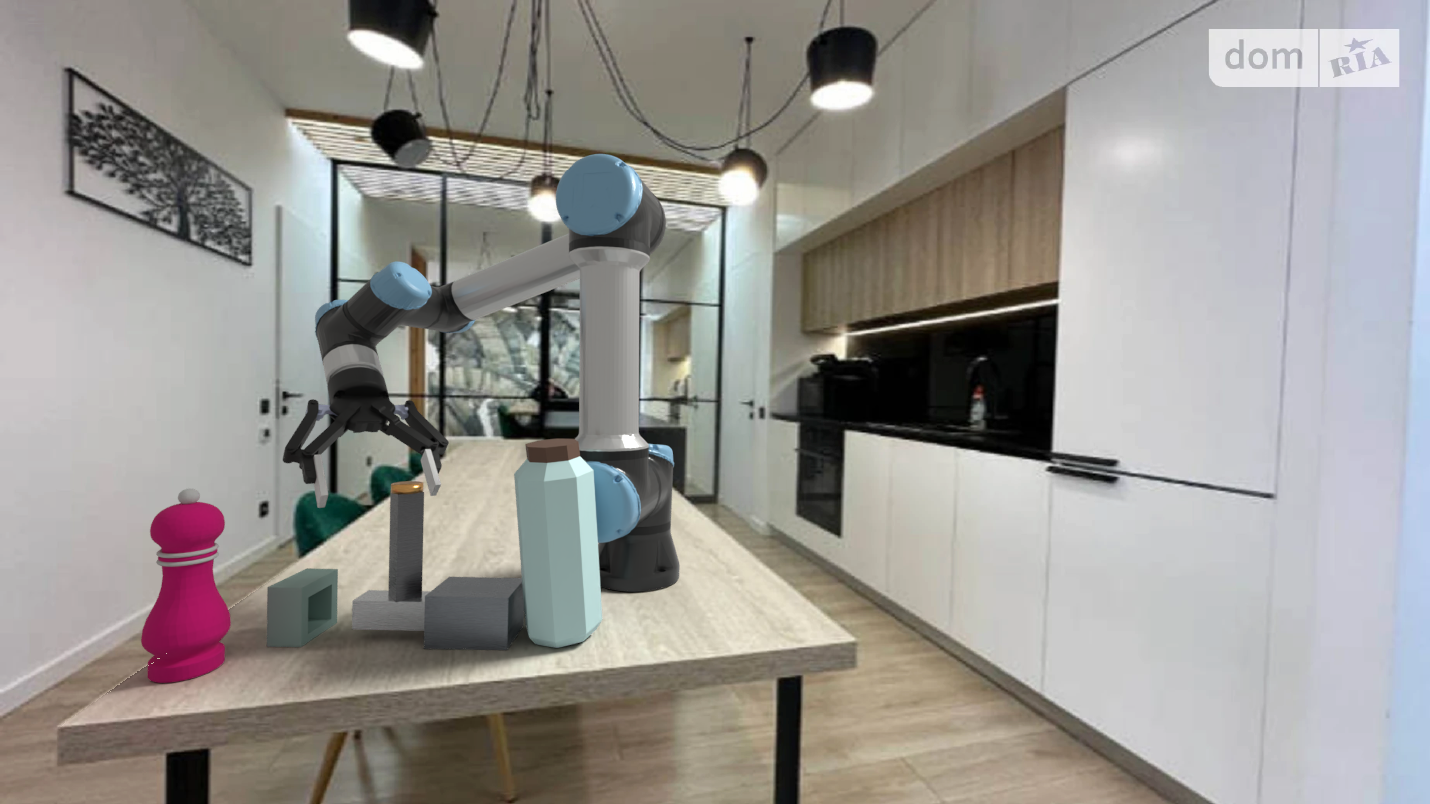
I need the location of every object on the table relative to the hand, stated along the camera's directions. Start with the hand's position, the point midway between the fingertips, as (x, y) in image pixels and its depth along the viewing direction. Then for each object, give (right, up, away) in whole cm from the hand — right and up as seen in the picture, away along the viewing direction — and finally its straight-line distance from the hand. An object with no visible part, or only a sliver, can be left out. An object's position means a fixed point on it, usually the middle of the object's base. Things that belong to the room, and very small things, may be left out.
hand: (383, 495), depth 77 cm
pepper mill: (-13, -17, -14) cm, 26 cm away
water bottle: (+25, -18, -2) cm, 31 cm away
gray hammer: (+9, -16, -4) cm, 19 cm away
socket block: (-7, -17, -5) cm, 19 cm away
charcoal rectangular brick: (+14, -17, -4) cm, 23 cm away
